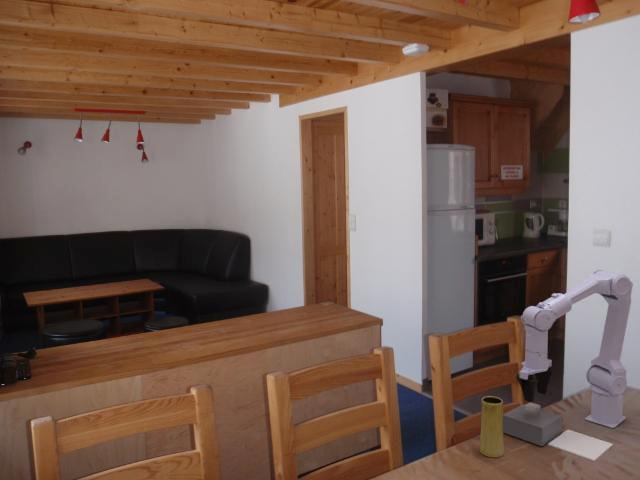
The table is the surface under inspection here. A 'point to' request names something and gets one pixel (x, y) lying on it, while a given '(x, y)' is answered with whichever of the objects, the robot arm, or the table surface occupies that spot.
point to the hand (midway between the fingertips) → (535, 397)
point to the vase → (492, 427)
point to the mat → (580, 445)
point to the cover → (532, 424)
